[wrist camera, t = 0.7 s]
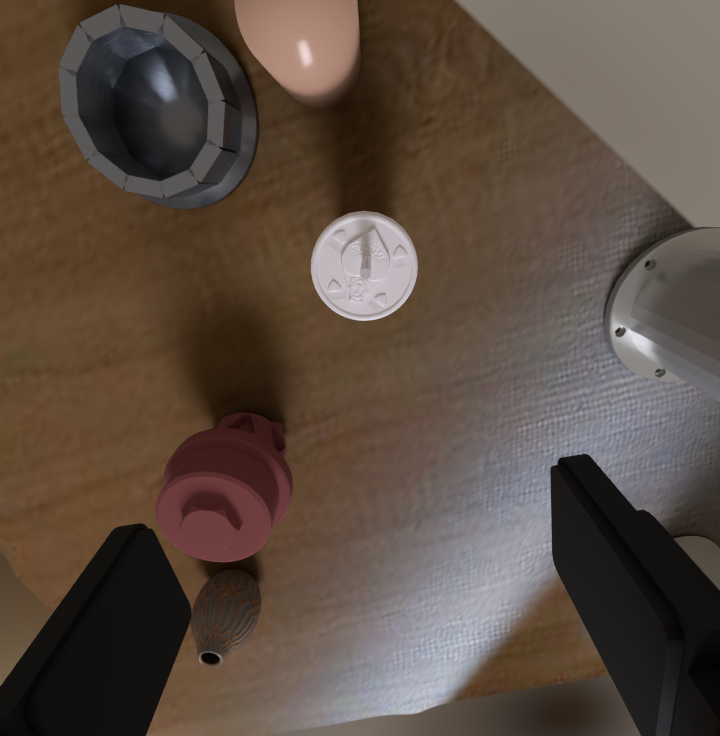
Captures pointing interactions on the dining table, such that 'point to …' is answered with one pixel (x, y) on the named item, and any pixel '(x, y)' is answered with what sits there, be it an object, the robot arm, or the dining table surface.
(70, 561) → the dining table surface
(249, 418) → the mechanical component
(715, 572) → the travel mug
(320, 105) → the peach rounded cylinder
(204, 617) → the vase
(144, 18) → the ring socket
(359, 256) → the smoothie
